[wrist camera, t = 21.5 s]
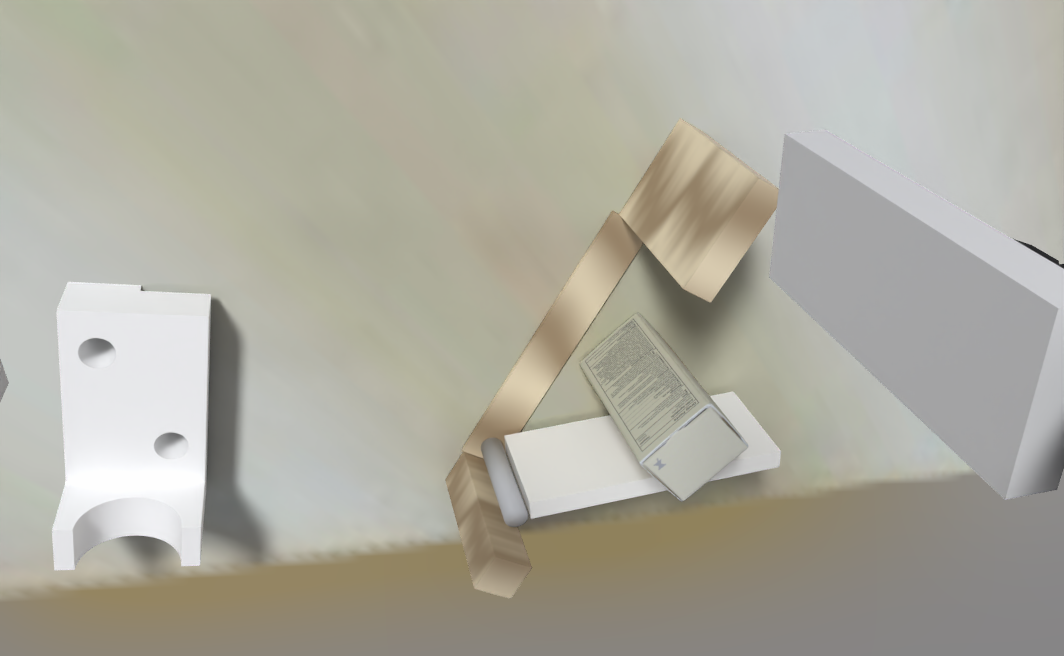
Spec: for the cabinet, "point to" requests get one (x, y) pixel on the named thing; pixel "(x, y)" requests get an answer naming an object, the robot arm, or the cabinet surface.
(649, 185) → the door frame
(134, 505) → the bracket
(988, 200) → the cabinet surface
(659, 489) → the door
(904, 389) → the robot arm
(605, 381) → the box
